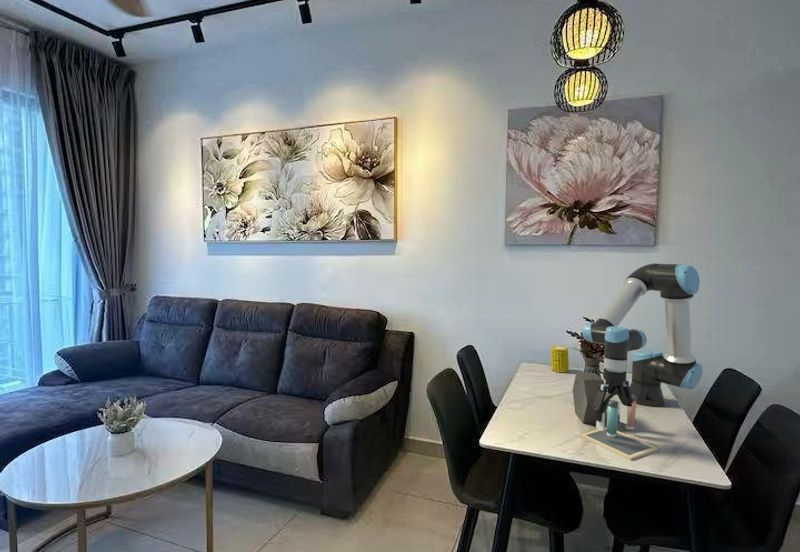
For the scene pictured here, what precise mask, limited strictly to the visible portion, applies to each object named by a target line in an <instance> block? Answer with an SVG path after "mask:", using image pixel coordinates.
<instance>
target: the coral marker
mask: <svg viewBox="0 0 800 552" xmlns="http://www.w3.org/2000/svg"><path fill="white" fill-rule="evenodd" d="M632 399H633V404H632V407H630V406H629V412H628V424H625V423H624V425H625V426H624V428H625V429H626V430H628V431H634V430H635V426H636V411H637V403H636V399H637V396H635V395H632Z"/></svg>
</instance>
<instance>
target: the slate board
mask: <svg viewBox="0 0 800 552" xmlns="http://www.w3.org/2000/svg"><path fill="white" fill-rule="evenodd" d="M606 430H607V426H604V431H601V430H599V429H594V430H592V431H588V432H583V433H581V434H580V436H579V437H580V438H582V439H584V440H586V441H589V442H590V443H592V444H595V445H597V446H599V447H601V448H604V449H605V450H608V451H610V452H612V453H614V454H615V455H618V456H619V457H622V458H625V459H627V460H629V461H632V460H635V459H639V458H641V457H643V456H646V455H649V454H652V453H654V452H657V451H659V448H658V447H656V446H654V445H652V444H649V443H647V442H644V441H642V440H640V439H637V438H635V437H633V436H630V435H628V434H626V433H623V432H621V431H618V430H617V434H616V438H610V437H608V436H607V432H606Z"/></svg>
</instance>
